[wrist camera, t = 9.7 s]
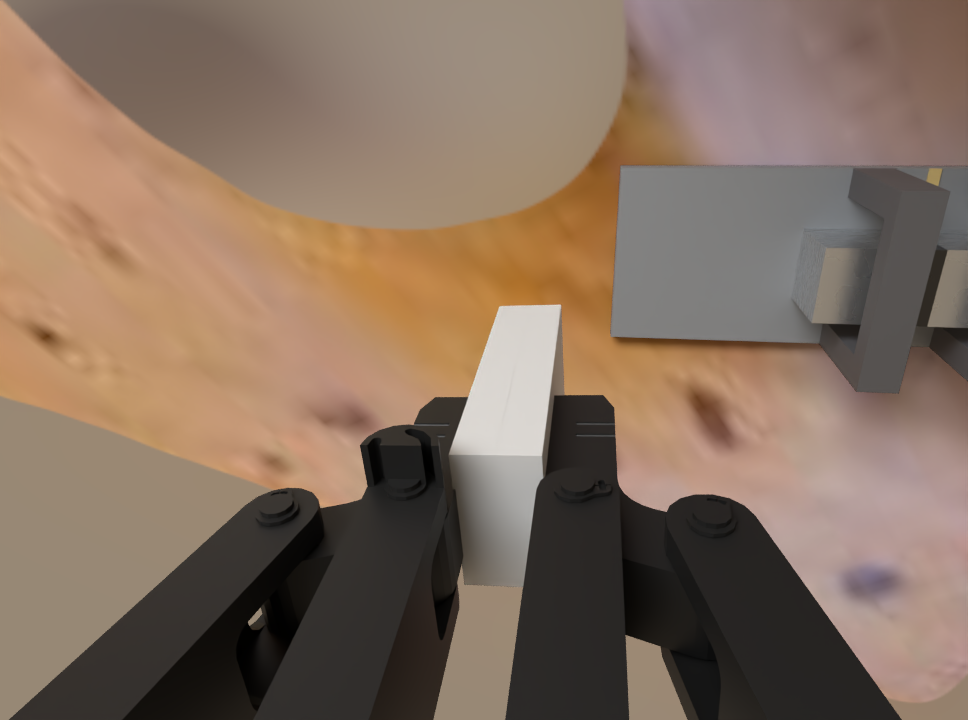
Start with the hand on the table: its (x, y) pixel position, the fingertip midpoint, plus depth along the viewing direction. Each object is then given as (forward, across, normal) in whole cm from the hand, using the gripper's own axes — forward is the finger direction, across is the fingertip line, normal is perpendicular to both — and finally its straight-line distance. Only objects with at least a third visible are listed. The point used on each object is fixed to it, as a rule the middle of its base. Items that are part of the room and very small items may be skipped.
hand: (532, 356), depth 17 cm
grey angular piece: (+25, +14, -6) cm, 29 cm away
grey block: (+24, +18, -6) cm, 30 cm away
